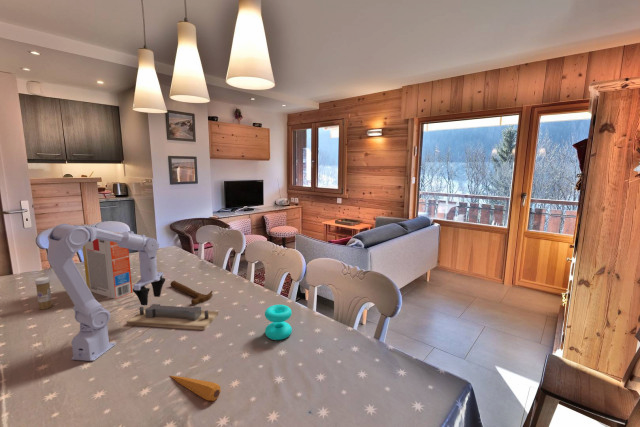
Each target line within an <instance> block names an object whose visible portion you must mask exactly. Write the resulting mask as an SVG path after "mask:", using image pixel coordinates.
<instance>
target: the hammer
mask: <svg viewBox="0 0 640 427" xmlns="http://www.w3.org/2000/svg"><path fill="white" fill-rule="evenodd" d="M170 287H172V288H174V289H176V290H178V291H180V292H182V293H184V294H187V295H188V296H191V297H194V298H192V299H191V300H190V302H191V305H192V306H196V305H198V304H203V303H205V302H207V301H209V300H211V298H212V297H213V290H211V291H210V292H209V293H208V294H203V293H201V292H197V291H195V290H194V289H192V288H190V287H188V286H186V285H184V284H182V283H180V282H177V281H176V280H173V281H170Z"/></svg>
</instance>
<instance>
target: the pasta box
mask: <svg viewBox="0 0 640 427" xmlns="http://www.w3.org/2000/svg"><path fill="white" fill-rule="evenodd" d="M109 231H110V232H114V233H117V234H121V233H122V232H119V231H118V232H117V231H112V230H109ZM129 250H130V249H127V248H122V247H119V246H118V244H117V242H111V241H106V240H100V239H95V240H94V241H92V242H89V241H88V242H87V243H86V244H85V245H84V246H83V247H82V256H83V264H84V265H83V266H84V272H85V283H86V284H87V286H88V288H89V290H90V291H91V293H95V294H97V295H101V296H104V297H108V298H111V299H114V300H117V299H119V298H123V297H125V296H128V295H130V294H133V284H132V274H131V272H132V271H131V260H130V251H129Z"/></svg>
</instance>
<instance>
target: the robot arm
mask: <svg viewBox="0 0 640 427" xmlns="http://www.w3.org/2000/svg"><path fill="white" fill-rule="evenodd" d="M110 231H111V230H107V229H106V230H105V229H101V228H98V227H95V226H87V225H77V224H74V225H73V224H72V225H71V224H68V223H60V224H58V225H56V226H54V227H53V228H52V229H51V231H50V233H49V234H48V236H47V240H48V246H47V247H48V248H47V254H46V260H47V262H48V263H49V265H50V267H51V269H52V270H53V272H54V274H55V275H56V277H57V279H58V280H59V282H60V284H61V285H62V287H63V289H64V290H65V292H66V293H67V295H68V297H69V298H70V300H71V302H72V303H73V305H74V306H73V310H74V319H75V321H76V322H77V323H79V331H78V333H77V334H76V335H75V336H73V337H72V339H71V347H72V348H71V349H72V357H71V360H72V361H73V360H76V361H84V362H85V361H87V362H88V361H89V362H95V360H97V359H98V358H100V357H101V356H102V355H104V354H105V353H106V352H108V351H109V350H110V349H112V348H113V347H114V346H116V344H117V343H116V342H110V339H109V329H108V323H109V322H110V320H111V313H110V311H109V310H108V309H106V308H104V307H103V305H102V304H101V303H100V302H98V300H96V298H95V296H94V295H93V292H91V291H90V290H89V288H88V286H87V283H86V280H85V279H84V277H83V275H82V274H81V272H80V270H79V268H78V266H77V265H76V262H74V260H73V258H74V257H75V255H76V254H77V253H78V252H79V251H80V250H81V249H83V246H84V245H85V244H86V243H87V242H88V241H89V242H92V241H94V240H95V239H100V240H106V241H111V242H117V244H118V246H119V247H122V248H127V249H129V250H133V251H138V259H139V271H140V272H139V273H140V279H139V280H138V281H137V282H136V283H135V284H133V287H132V293H134V294H135V295H136V297H137V299H138V301H139V303H140V306H147V305H148V304H149V302H148V301H149V298H148V297H149V292H150V289H151V288H149V287H146V286H147V285H151V287H152V291H153V297H154V298H160V297H161V294H162V289H163V287H164V286H163V285H164V283H165V282H166V278H164V276H165V275H164V272H163V271H159V272H158V263H157V262H158V261H157V260H158V259H157V254H158V253H157V252H158V250H159V247H160V243H158V240H157V239H156V238H153V237H148V236H146V235H145V234H138V233H135V232H134V231H132V230H128V231H123V232H120V233H121V234H117V233H114V232H115V231H112V232H110Z"/></svg>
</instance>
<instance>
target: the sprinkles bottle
mask: <svg viewBox="0 0 640 427" xmlns="http://www.w3.org/2000/svg"><path fill="white" fill-rule="evenodd" d="M50 281H51V280H50V276H41V277H37V278H36V279H35V280H34V283H35V286H36V295H37V296H36V298H37V302H38V309H39V310H47V309H50V308H52V307H53V301H52V293H51V292H52V291H51V286H50Z"/></svg>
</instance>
